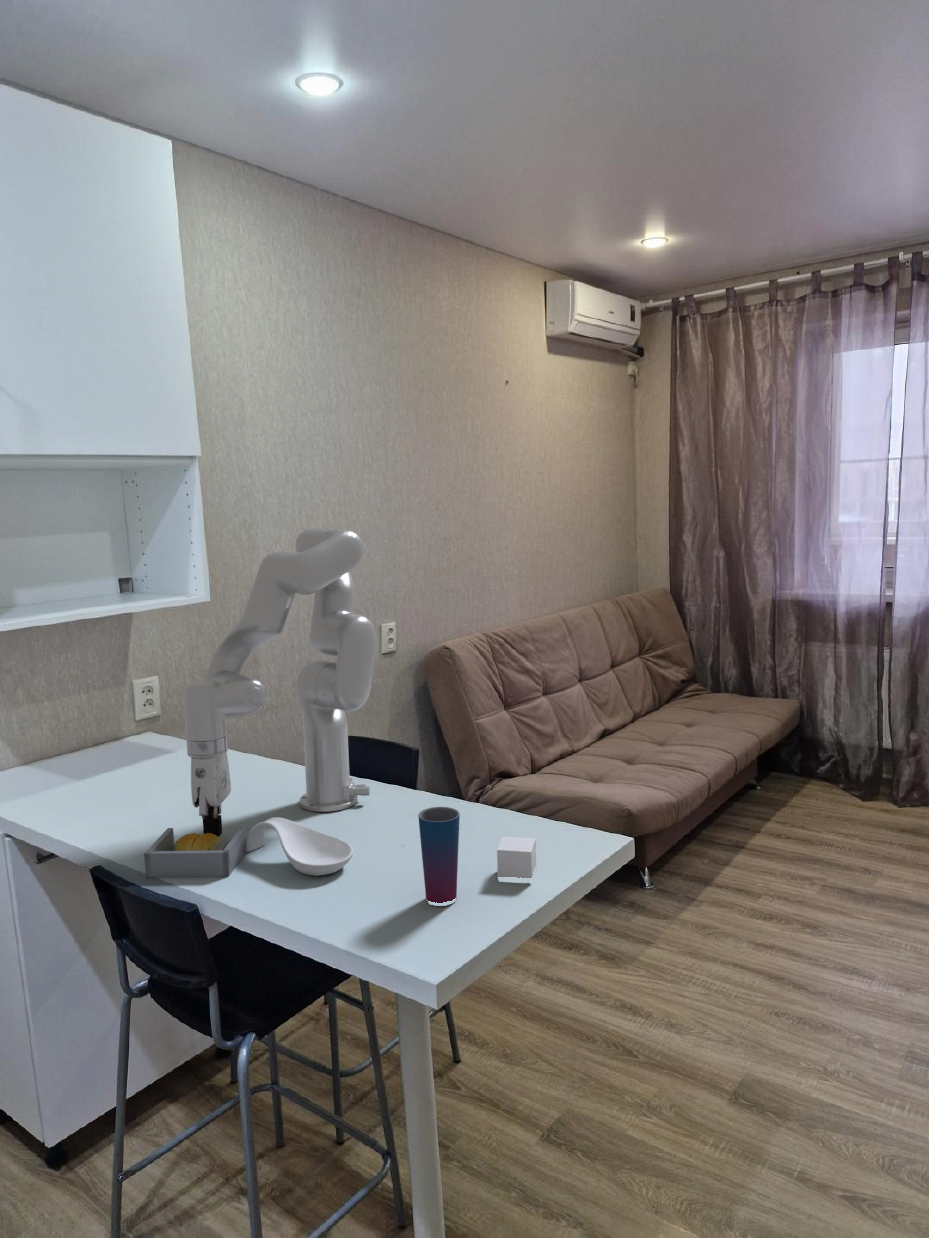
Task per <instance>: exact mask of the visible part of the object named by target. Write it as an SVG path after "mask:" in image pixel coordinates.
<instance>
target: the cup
mask: <svg viewBox="0 0 929 1238" xmlns="http://www.w3.org/2000/svg"><path fill="white" fill-rule="evenodd" d="M460 814H461V813H460V811H459V810H457V809H456V808H454V807H453V808H452V807H447V806H433V807H428V808H424V809H422V810H421V811H419V813H418V815H417V816H418V825H419V826H418V828H419V839H420V846H421V847H420V848H421V859H422V860H421V861H422V868H423V869H422V870H423V881H424V890H425V891H424V892H425V900H426V899H427V900H428V901H431V902H435V903H436V902H437V903H443V902H447V901H452V900H453V899H455V898H456V899H457V891H458V890H457V889H458V888H457V887H458V866H459V865H458V864H459V863H458V862H459V842H460V841H459V839H460V816H461V815H460Z"/></svg>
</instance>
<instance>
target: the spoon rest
mask: <svg viewBox="0 0 929 1238" xmlns="http://www.w3.org/2000/svg"><path fill="white" fill-rule="evenodd" d="M267 828H272V829H273V830H274V831H275V833H276V835H277V837H278V840H279V842H280V845H281V848H282V850H283V852H284V854H285V856H286V858H287V860H288V861H289V863H290V865H292V866H293V868H294V869H295V870H296V871H299V872H300V873H302V874H305V875H307V874H308V875H307V876H311V875H315V876H314V877H320V875H321V876H326V875H330V874H334V873H335V872H338V871H340V870H341V869H343V868H344V867H345V866H346V865H347V864H348V863H349V861H350V860H351V859H352V857H353V855H354V848H353V847H352V846H351V844H350V843H348V842H346V841H345V840H343V839H341V838H339V837H335V836H334V835H330V834H328V833H325V832H322V831H319V830H317V829H314V828H312V827H309V826H306V825H303V824H301V823H299V822H296V821H293V820H290V819H288V818H284V817H277V816H276V817H271V818H268V819H265V821H261V822H258V823H257V824H255V825H253V826H252V828H251V829H250V830H249V832H248V834H247V835H246V844H245V853H247V852H248V853H249V852H253V851H256V850H257V849H259V848H262V847H264V846H266V845H265V844H266V830H267Z"/></svg>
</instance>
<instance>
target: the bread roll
mask: <svg viewBox="0 0 929 1238" xmlns="http://www.w3.org/2000/svg"><path fill="white" fill-rule="evenodd" d="M224 845H225V844H224V842H223V839H222V838H221V837H218V836H216V835H214V834H211V833H206V834H204V833H203V834H199V833H195V832H193V833H192V832H191V833H187V834H184V835H183V836H181V837H180V838H179V839H178V838H177V840H176V842H174V851H217V850H224V849H225V846H224Z"/></svg>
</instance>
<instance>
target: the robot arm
mask: <svg viewBox="0 0 929 1238" xmlns="http://www.w3.org/2000/svg"><path fill="white" fill-rule="evenodd" d="M294 544H295V551H273V552H271V553H269V554H267V555H265V557H264V558H263V559H262V560H261V562H260V565H259V567H258V569H257V573H256V575H255V578H254V580H253V584H252V587H251V590H250V593H249V596H248V598H247V601H246V604H245V607H244V610H243V613H242V616H241V618H240V619H239V621H238V622H237V624H236V625H235V626H234V627H233V628H232V629H231V630H230V632H228V634H227V635H226V636H225V638H224V639H222V641H221V642H220V644H219V645H218V646H217V648H216V650H215V652H214V654H213V656H212V658H211V661H210V664H209V667H208V670H207V673H206V676H205V680H201V681H195V682H191V683H188V684H187V685H186V686H184V689H183V708H184V709H183V710H184V711H183V712H184V722H185V723H184V726H185V727H184V728H185V738H186V752H187V754H186V755H187V756H188V757H189V758H190V787H191V788H190V789H191V790H190V791H191V800H192V801H191V802H192V805H193V807H194V808H198V815H199V816H200V817H201V818H202V829H203V834H206V833H211V834H214V835H216V836H218V837H219V838H221V835H222V834H223V822H222V821H223V820H222V803H223V802H224V801H225V800H226V799H227V798H228V797H229V795H230V793H231V790H232V786H231V785H232V784H231V776H230V767H229V765H230V764H229V760H228V754H227V753H228V735H227V720H226V718H227V717H237V716H240V717H241V716H248V715H249V716H250V715H252V714H253V715H254V713H257V712H258V711H260V710H261V709H262V708H263V707H264V706H265V704H266V703H267V700H268V692H267V689H266V686H265V685H264V684H263V683H262V682H261V681H260V680H259V679H257V678H253V677H252V676H247V675H243V674H241V673H242V672H243V669H244V666H245V665H246V662H247V660H248V659H249V657H250V656H251V655H252V654H253V653H254V652H255V651H256V650H257V649H259V648H260V647H261V646H263V645H265V644H267V643H269V642H271V641H272V640H274V639H275V638H277V637H279V636H281V634H282V633H283V631H284V628H285V625H286V622H287V619H288V615H289V613H290V610H291V607H292V604H293V601H294V598H295V596H296V595H300V596H308V595H311V594H314V599H313V606H312V613H311V614H312V615H311V622H310V629H309V644H310V646H311V648H313V650H314V651H316V652H317V653H320V654H323V655H326V656H332V657H337V658H336V662H334V661H327V660H313V661H310V662H307V664H305V665H304V666H302V667H301V669H300V670H299V672H298V675H297V678H296V693H297V698H298V701H299V704H300V705H299V706H300V708H301V709H300V710H301V716H302V726H303V727H302V729H303V750H304V771H305V790H306V793H305V794H302V796H300V798H299V806H300V807H301V808H302V809H305V810H306V811H310V812H318V813H319V812H321V813H327V812H329V813H330V812H336V811H341V810H342V811H343V810H345V809H348V808H351V807H352V806H354V805H356V803H357V802H358V796H361V797H362V796H363V797H364V796H365V797H367V796H368V797H369V796H370V795H371V786H367V784H365V783H364V784H363V783H362V784H356V783H355V782H354V780H353V777H350V776H351V775H350V759H349V757H350V756H349V733H348V732H349V731H348V730H349V729H348V719H347V715H346V712H354V711H355V712H356V711H357V710H359V709H361V708H362V707H363V706H365V704H366V702H367V701H368V699H369V696H370V692H371V690H372V689H371V688H372V683H373V674H374V668H375V661H376V653H377V645H378V644H377V642H378V639H377V638H378V637H377V633H376V632H377V631H376V629H375V626H374V624H373V623H372V621H371V620H370V619H369V618H368V617H365V616H364V615H362V614H357V613H354V602H355V601H354V600H355V584H354V581H353V577H352V573H351V571H353V570H354V569H355V568H356V567H357V566H358V565H359V563H360V562H361V560H362V558H363V555H364V544H363V542H362V540H361V538H360V536H359V535H358V534H357V533H356V532H354V531H352V530H349V529H344V528H321V527H320V528H309V529H305V530H303V531H301V532H300V533H299V534H298V535H297V537H296V539H295V543H294Z"/></svg>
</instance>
